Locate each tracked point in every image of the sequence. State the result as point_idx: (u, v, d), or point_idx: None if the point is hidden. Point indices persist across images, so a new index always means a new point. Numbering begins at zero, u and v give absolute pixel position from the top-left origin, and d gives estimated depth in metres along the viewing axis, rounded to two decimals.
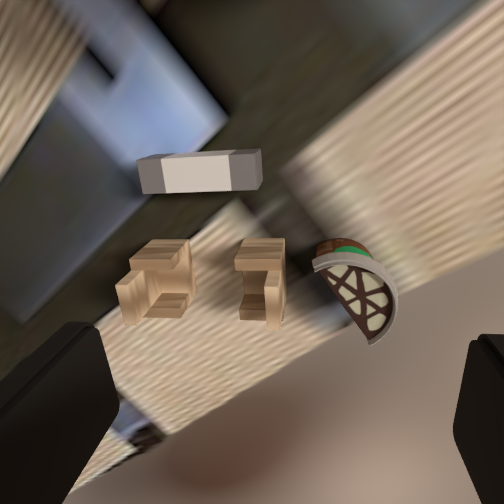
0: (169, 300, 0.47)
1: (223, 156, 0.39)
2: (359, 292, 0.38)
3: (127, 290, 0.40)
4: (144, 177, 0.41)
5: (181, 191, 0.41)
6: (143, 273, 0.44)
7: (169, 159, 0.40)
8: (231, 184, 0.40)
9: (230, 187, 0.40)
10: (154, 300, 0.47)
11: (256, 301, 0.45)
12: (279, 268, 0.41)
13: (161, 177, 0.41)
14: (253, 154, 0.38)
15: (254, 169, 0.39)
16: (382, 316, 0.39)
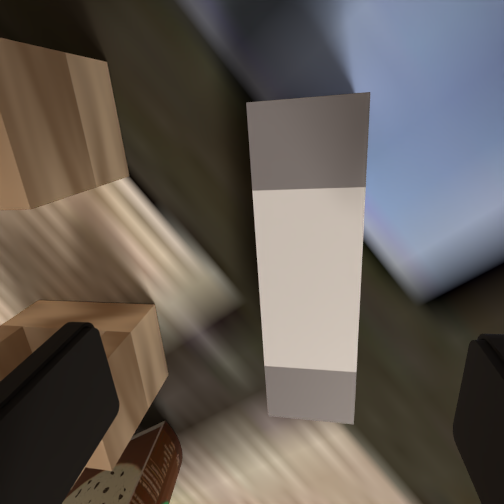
0: None
1: (353, 361, 0.15)
2: None
3: None
4: (306, 118, 0.12)
5: (259, 239, 0.13)
6: None
7: (360, 216, 0.12)
8: (281, 366, 0.16)
9: (272, 364, 0.16)
10: None
11: (6, 375, 0.19)
12: (89, 465, 0.18)
13: (304, 181, 0.12)
14: (351, 420, 0.16)
15: (315, 417, 0.16)
16: None
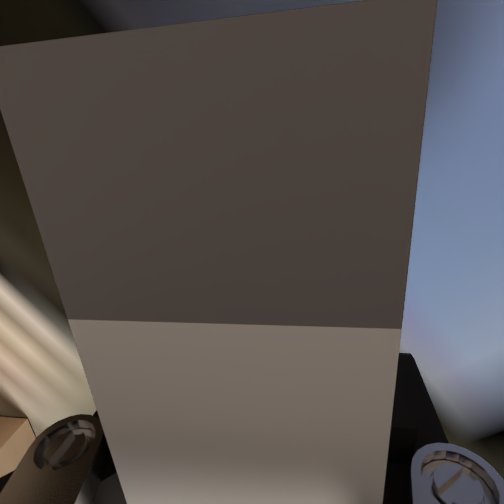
0: None
1: None
2: None
3: None
4: (192, 104, 0.03)
5: (111, 430, 0.05)
6: None
7: (382, 403, 0.04)
8: None
9: None
10: None
11: None
12: None
13: (210, 302, 0.04)
14: None
15: None
16: None
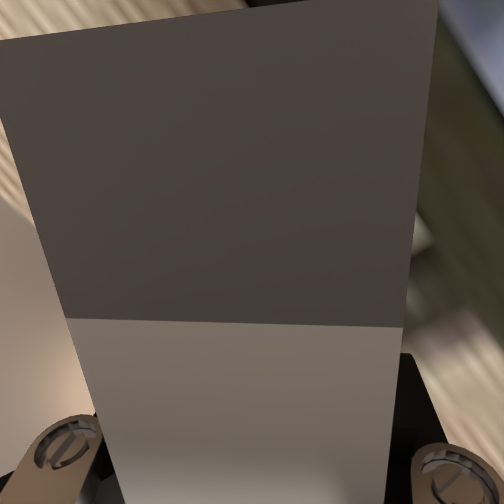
0: None
1: None
2: None
3: None
4: (190, 99, 0.03)
5: (109, 431, 0.05)
6: None
7: (383, 403, 0.04)
8: None
9: None
10: None
11: None
12: None
13: (210, 301, 0.04)
14: None
15: None
16: None
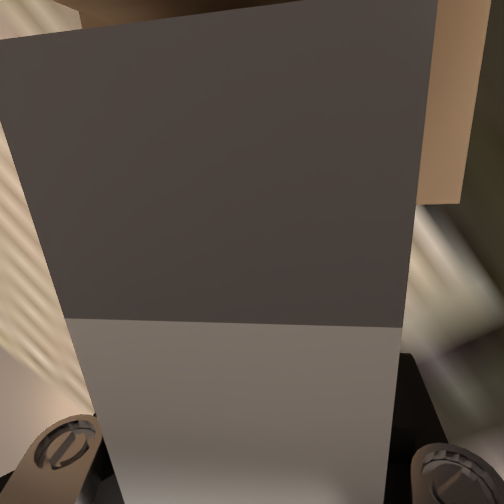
0: None
1: None
2: None
3: None
4: (189, 99, 0.03)
5: (108, 431, 0.05)
6: None
7: (382, 403, 0.04)
8: None
9: None
10: None
11: None
12: None
13: (209, 300, 0.04)
14: None
15: None
16: None
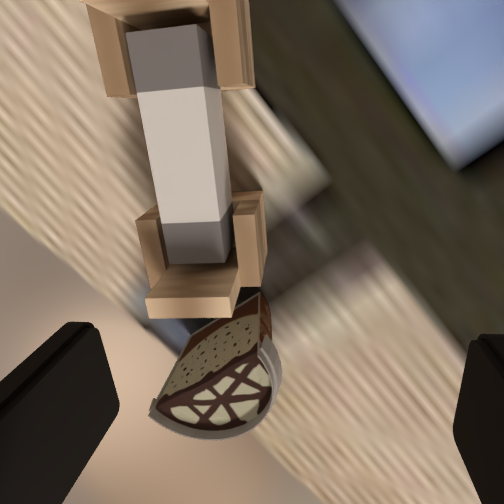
0: None
1: (217, 213, 0.22)
2: (227, 397, 0.27)
3: None
4: (162, 41, 0.19)
5: (145, 127, 0.21)
6: (201, 5, 0.19)
7: (203, 107, 0.20)
8: (172, 222, 0.23)
9: (166, 222, 0.23)
10: (129, 22, 0.21)
11: None
12: (244, 284, 0.25)
13: (167, 84, 0.20)
14: (223, 260, 0.24)
15: (200, 261, 0.24)
16: (195, 420, 0.29)
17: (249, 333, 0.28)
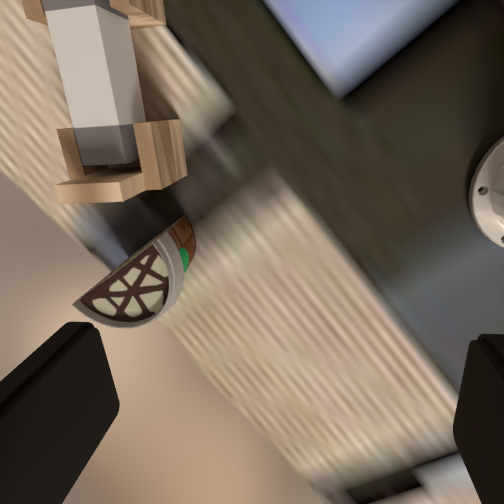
0: None
1: (116, 117, 0.27)
2: (136, 289, 0.32)
3: None
4: None
5: (54, 41, 0.26)
6: None
7: (97, 22, 0.25)
8: (82, 127, 0.28)
9: (77, 126, 0.28)
10: None
11: None
12: (148, 188, 0.30)
13: (67, 3, 0.25)
14: (125, 161, 0.29)
15: (107, 162, 0.29)
16: (113, 312, 0.33)
17: (159, 237, 0.33)
